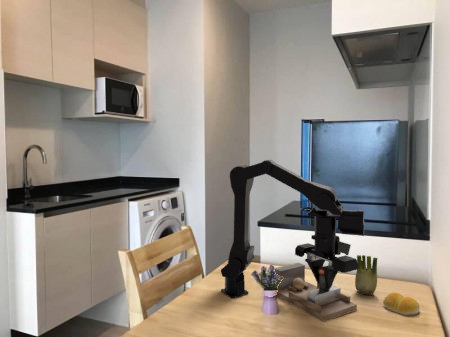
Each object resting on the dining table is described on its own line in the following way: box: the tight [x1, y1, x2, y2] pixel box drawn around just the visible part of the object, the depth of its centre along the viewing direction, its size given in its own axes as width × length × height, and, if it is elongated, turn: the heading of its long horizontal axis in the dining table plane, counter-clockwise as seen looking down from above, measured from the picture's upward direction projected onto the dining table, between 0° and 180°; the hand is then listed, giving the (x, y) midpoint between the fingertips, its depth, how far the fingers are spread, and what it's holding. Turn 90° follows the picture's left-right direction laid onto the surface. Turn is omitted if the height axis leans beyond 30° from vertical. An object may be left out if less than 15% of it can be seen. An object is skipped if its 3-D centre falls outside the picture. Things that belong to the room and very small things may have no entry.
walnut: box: [293, 278, 304, 290], centre depth 113 cm, size 4×4×4 cm
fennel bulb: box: [354, 254, 378, 296], centre depth 113 cm, size 6×5×12 cm
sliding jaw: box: [307, 265, 342, 306], centre depth 104 cm, size 4×10×9 cm, turn 122°
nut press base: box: [273, 262, 358, 323], centre depth 108 cm, size 22×13×8 cm, turn 32°
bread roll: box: [382, 291, 420, 316], centre depth 104 cm, size 8×9×4 cm
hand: (324, 286), depth 104 cm, fingers closed on sliding jaw, 3 cm apart
